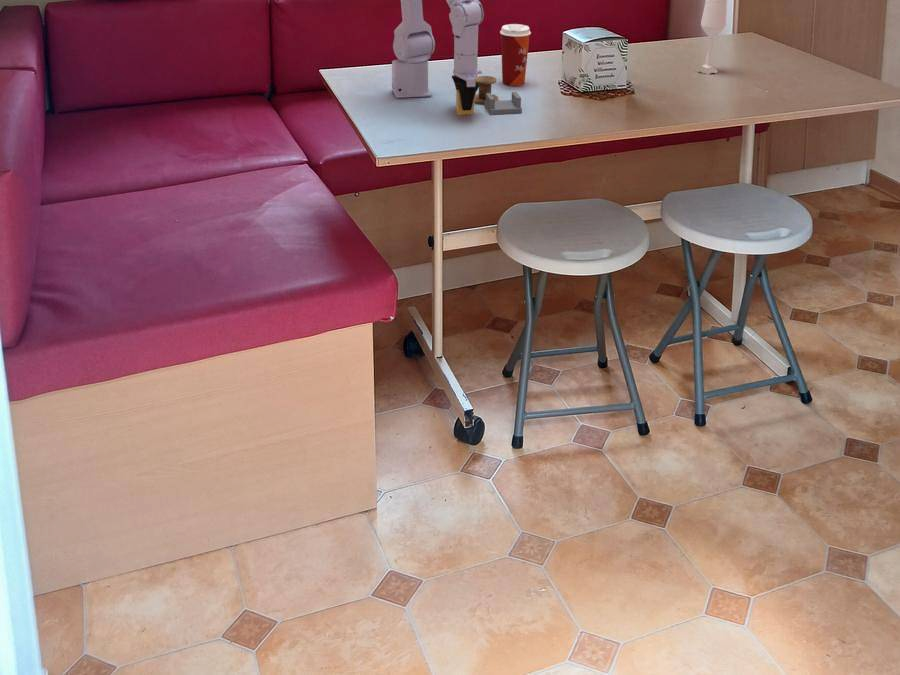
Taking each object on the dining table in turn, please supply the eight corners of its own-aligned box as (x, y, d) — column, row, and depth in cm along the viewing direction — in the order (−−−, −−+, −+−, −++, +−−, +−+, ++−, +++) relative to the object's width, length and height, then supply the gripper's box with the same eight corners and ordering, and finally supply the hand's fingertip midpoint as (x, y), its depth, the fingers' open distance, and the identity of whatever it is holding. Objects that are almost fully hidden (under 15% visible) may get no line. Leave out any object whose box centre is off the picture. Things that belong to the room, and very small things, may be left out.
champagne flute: (695, 73, 292) (706, -15, 279) (694, 67, 297) (705, -20, 285) (719, 75, 291) (732, -14, 279) (718, 68, 296) (730, -19, 284)
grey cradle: (490, 114, 259) (490, 100, 257) (484, 106, 265) (484, 92, 263) (521, 113, 260) (522, 99, 258) (515, 104, 266) (515, 90, 264)
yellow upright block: (458, 115, 258) (458, 93, 255) (455, 111, 261) (456, 89, 258) (473, 114, 259) (474, 92, 256) (471, 110, 261) (471, 89, 259)
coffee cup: (526, 88, 278) (528, 31, 270) (496, 86, 279) (497, 30, 272) (530, 79, 285) (533, 24, 278) (500, 77, 286) (502, 22, 279)
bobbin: (474, 105, 265) (474, 83, 262) (468, 97, 271) (469, 75, 268) (500, 103, 266) (501, 82, 263) (494, 95, 272) (495, 74, 269)
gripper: (488, 60, 247) (486, 115, 254) (475, 44, 259) (474, 97, 266) (459, 61, 246) (458, 116, 252) (448, 45, 258) (447, 98, 265)
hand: (465, 107), depth 259 cm, fingers open, 4 cm apart
